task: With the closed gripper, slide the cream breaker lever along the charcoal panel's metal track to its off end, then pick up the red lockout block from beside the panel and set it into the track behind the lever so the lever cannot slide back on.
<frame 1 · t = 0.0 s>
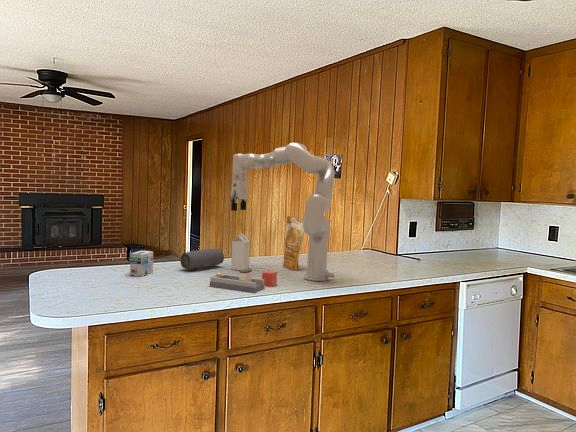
hand: (238, 210, 241), 31 cm above the worktop, tool pointing down, fingers open, 9 cm apart
breaker panel: (237, 287, 201), on the worktop
light bulb box: (141, 274, 220), on the worktop
bluetooth speaker: (202, 269, 240), on the worktop
milk carton: (240, 269, 242), on the worktop
lockout block: (269, 285, 208), on the worktop
breaker lever: (245, 276, 199), point 5 cm above the worktop, slide at 0.0 cm
pancake mix bag: (292, 268, 251), on the worktop
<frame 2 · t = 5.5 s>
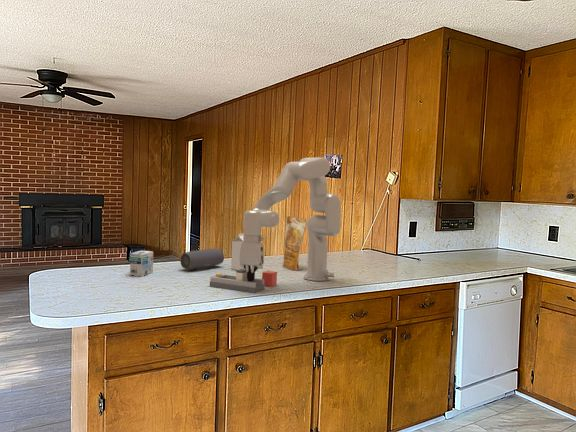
hand: (250, 280, 198), 4 cm above the worktop, tool pointing down, fingers closed
breaker lever: (242, 276, 200), point 5 cm above the worktop, slide at 1.6 cm, touching gripper
everything else where it was.
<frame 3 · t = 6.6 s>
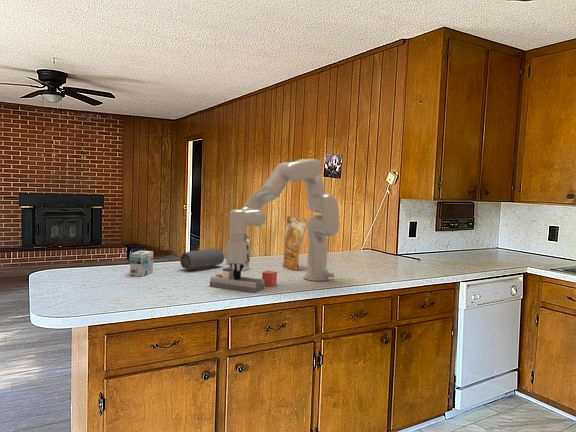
hand: (236, 279, 201), 4 cm above the worktop, tool pointing down, fingers closed
breaker lever: (228, 274, 202), point 5 cm above the worktop, slide at 8.4 cm, touching gripper
everything else where it was.
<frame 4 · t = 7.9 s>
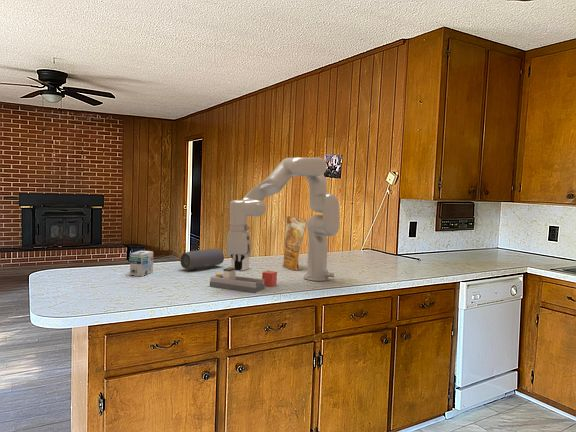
hand: (238, 269, 201), 8 cm above the worktop, tool pointing down, fingers closed
breaker lever: (229, 274, 202), point 5 cm above the worktop, slide at 8.0 cm
everything else where it was.
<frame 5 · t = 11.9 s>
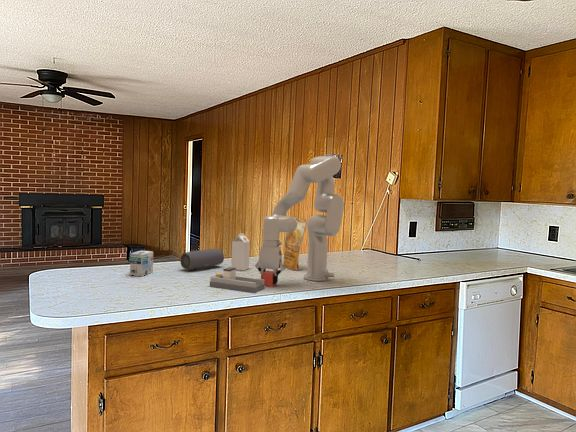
hand: (269, 282, 208), 1 cm above the worktop, tool pointing down, fingers closed on lockout block, 5 cm apart
lockout block: (269, 285, 208), on the worktop, touching gripper
everything else where it was.
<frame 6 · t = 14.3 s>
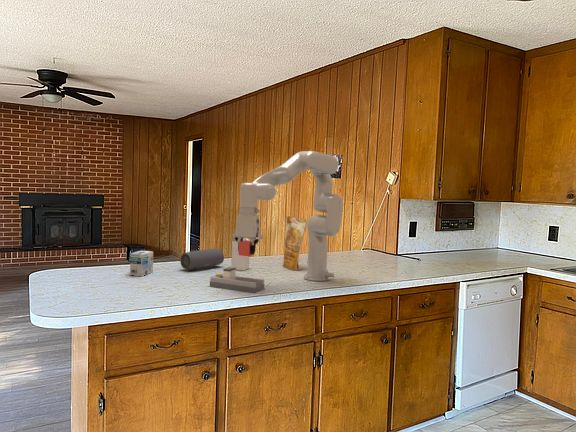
hand: (246, 252, 198), 16 cm above the worktop, tool pointing down, fingers closed on lockout block, 5 cm apart
lockout block: (246, 255, 198), point 15 cm above the worktop, touching gripper
everything else where it was.
when the fingers open (4 cm above the worktop, at t = 16.8 s): lockout block drops 1 cm, resting on breaker panel.
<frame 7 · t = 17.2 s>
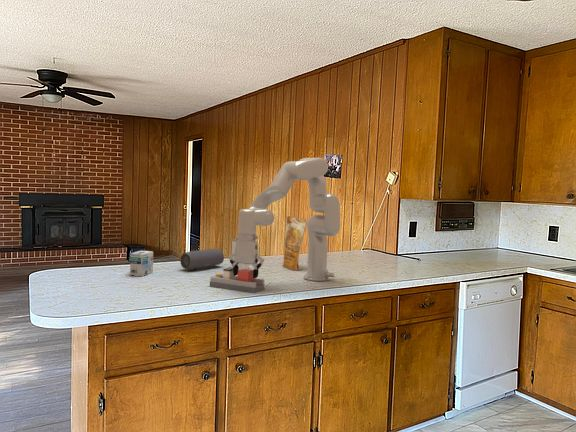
hand: (245, 276, 199), 5 cm above the worktop, tool pointing down, fingers open, 9 cm apart
lockout block: (245, 283, 199), point 2 cm above the worktop, touching breaker panel
everything else where it was.
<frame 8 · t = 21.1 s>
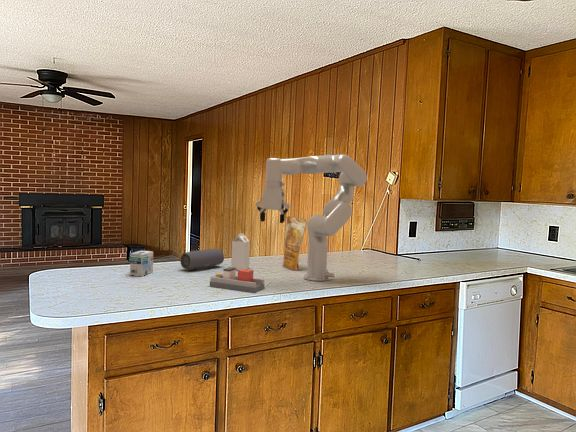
hand: (272, 222, 211), 28 cm above the worktop, tool pointing down, fingers open, 9 cm apart
nothing on the worktop moved.
at the end: breaker lever slide at 8.0 cm; lockout block inside the target area (0.2 cm from its centre), point 2.0 cm above the worktop; lockout block tilted 0° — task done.
